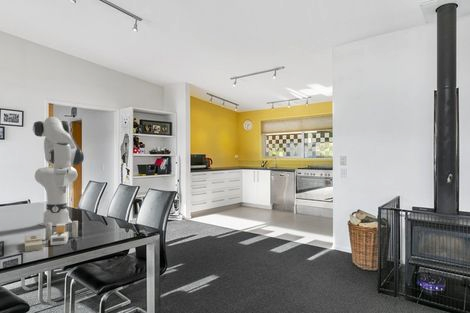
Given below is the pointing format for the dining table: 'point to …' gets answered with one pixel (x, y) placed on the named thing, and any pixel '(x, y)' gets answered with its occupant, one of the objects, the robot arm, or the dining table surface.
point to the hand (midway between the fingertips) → (62, 194)
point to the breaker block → (59, 238)
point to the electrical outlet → (33, 243)
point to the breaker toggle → (60, 228)
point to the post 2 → (74, 229)
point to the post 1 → (48, 231)
